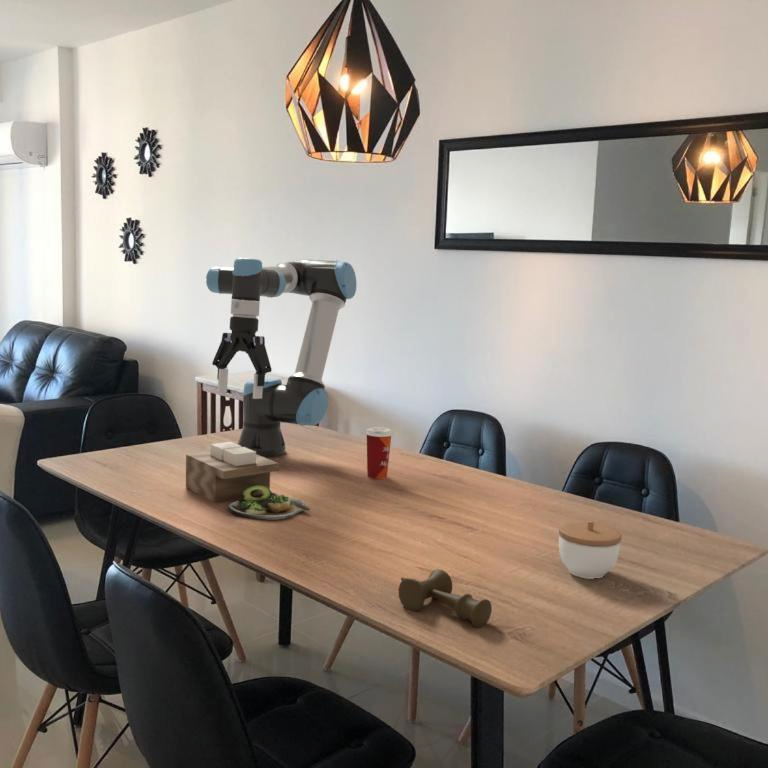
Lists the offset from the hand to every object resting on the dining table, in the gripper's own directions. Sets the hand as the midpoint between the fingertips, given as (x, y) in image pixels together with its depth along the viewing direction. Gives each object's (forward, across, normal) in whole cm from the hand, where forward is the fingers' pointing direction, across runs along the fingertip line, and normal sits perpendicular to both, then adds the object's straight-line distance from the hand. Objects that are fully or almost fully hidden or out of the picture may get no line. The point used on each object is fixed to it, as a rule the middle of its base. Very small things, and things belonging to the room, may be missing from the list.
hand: (239, 395), depth 227 cm
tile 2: (+16, +9, -7) cm, 20 cm away
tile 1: (+16, +2, -6) cm, 17 cm away
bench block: (+25, +5, -6) cm, 26 cm away
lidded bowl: (+26, +99, +6) cm, 103 cm away
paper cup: (+22, +23, +34) cm, 47 cm away
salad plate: (+26, +22, -9) cm, 35 cm away
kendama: (+29, +86, -29) cm, 96 cm away
